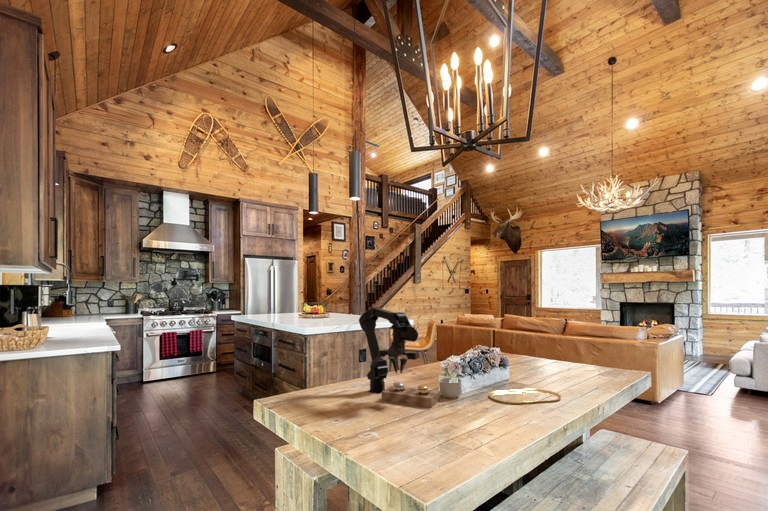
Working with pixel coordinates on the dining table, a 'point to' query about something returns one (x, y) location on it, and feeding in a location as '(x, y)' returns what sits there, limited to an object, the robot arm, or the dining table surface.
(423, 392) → the brass plug
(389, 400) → the walnut block
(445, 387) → the teacup
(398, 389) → the grey plug
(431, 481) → the dining table surface
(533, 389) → the gold ring
